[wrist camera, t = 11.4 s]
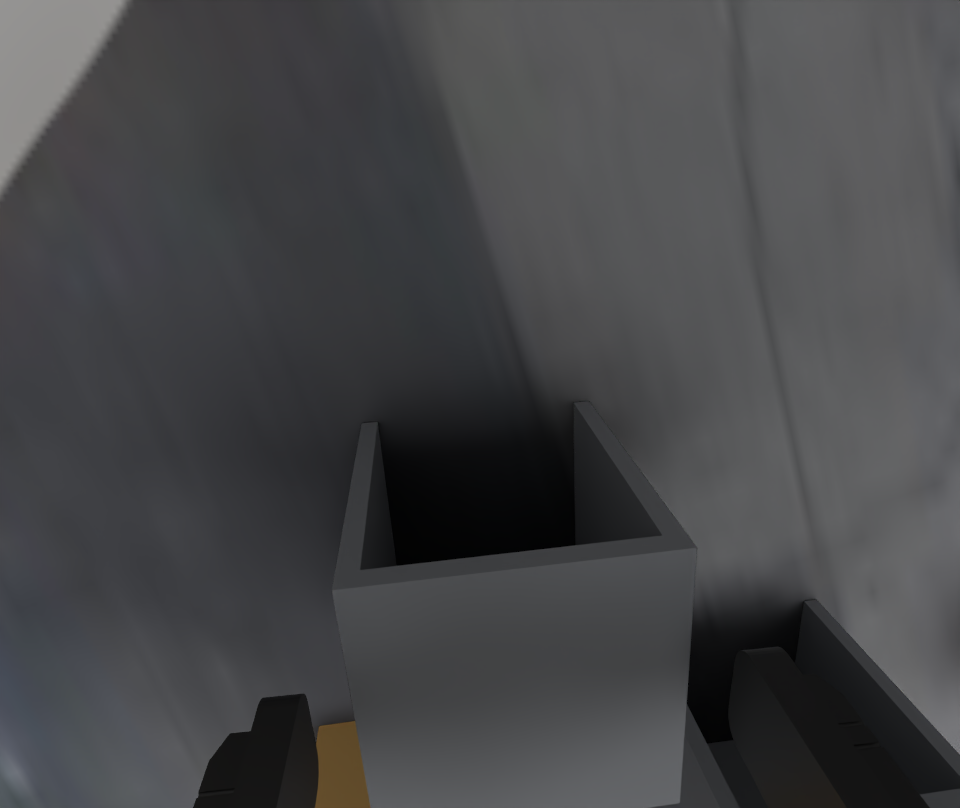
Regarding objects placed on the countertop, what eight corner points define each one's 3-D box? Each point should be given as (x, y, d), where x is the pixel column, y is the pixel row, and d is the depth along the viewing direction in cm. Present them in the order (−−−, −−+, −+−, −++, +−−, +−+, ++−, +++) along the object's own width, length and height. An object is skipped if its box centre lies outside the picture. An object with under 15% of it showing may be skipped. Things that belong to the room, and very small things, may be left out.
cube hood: (361, 423, 18) (331, 590, 11) (588, 401, 19) (697, 547, 12) (388, 611, 20) (377, 847, 13) (589, 587, 21) (679, 802, 14)
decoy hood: (631, 622, 22) (736, 843, 15) (816, 599, 22) (1005, 803, 15) (627, 763, 24) (716, 1012, 17) (795, 740, 24) (949, 972, 17)
